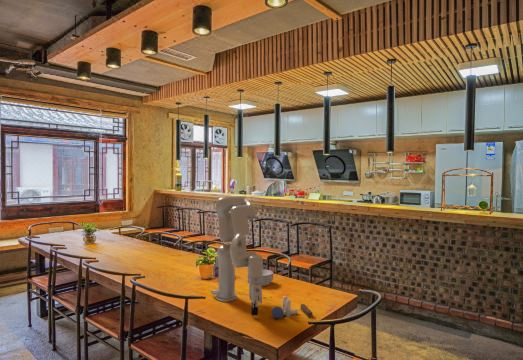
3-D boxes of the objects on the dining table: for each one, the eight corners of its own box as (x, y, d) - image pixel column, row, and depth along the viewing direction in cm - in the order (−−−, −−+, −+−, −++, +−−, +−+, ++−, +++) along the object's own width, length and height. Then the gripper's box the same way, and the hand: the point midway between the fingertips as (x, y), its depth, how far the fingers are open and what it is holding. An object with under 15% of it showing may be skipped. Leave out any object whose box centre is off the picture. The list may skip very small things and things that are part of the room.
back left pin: (282, 313, 185) (282, 297, 185) (283, 311, 188) (282, 295, 187) (287, 313, 185) (287, 297, 185) (287, 311, 187) (287, 296, 187)
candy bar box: (222, 272, 259) (222, 250, 258) (226, 273, 255) (227, 251, 255) (210, 275, 250) (210, 252, 250) (215, 276, 247) (215, 253, 246)
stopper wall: (308, 317, 180) (308, 312, 180) (300, 308, 192) (300, 304, 192) (312, 317, 181) (312, 312, 181) (304, 308, 193) (304, 303, 192)
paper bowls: (253, 279, 242) (253, 268, 242) (274, 281, 239) (275, 269, 239) (248, 286, 228) (248, 274, 227) (271, 288, 224) (271, 276, 224)
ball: (283, 320, 179) (272, 321, 179) (283, 309, 183) (271, 310, 184) (283, 314, 175) (271, 315, 175) (282, 303, 179) (270, 304, 180)
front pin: (281, 310, 183) (297, 309, 185) (280, 310, 185) (295, 309, 187) (282, 315, 182) (297, 313, 184) (280, 315, 184) (296, 314, 186)
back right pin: (285, 317, 180) (285, 301, 180) (285, 315, 183) (286, 299, 182) (290, 317, 180) (290, 301, 180) (290, 315, 182) (290, 299, 182)
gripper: (265, 283, 173) (265, 320, 173) (258, 274, 187) (258, 308, 188) (251, 284, 171) (250, 321, 171) (245, 275, 185) (244, 309, 186)
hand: (254, 314), depth 180 cm, fingers closed
